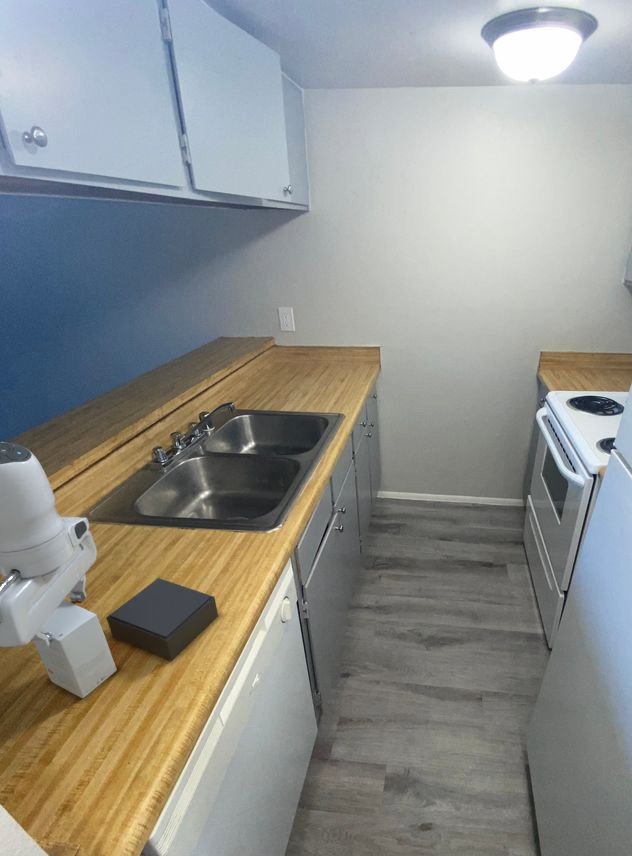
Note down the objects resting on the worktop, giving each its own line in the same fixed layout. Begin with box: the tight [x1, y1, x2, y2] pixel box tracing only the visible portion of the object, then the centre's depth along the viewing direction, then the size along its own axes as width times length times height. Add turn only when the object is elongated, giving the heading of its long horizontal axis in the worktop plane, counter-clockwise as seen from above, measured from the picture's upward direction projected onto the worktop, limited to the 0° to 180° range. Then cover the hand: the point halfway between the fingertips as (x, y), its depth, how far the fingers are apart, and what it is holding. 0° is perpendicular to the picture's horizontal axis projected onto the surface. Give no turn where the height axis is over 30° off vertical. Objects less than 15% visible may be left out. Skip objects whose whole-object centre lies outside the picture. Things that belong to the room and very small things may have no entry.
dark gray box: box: [105, 577, 219, 662], centre depth 89 cm, size 14×12×5 cm
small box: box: [36, 599, 118, 699], centre depth 77 cm, size 8×6×13 cm
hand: (63, 621), depth 74 cm, fingers open, 8 cm apart
